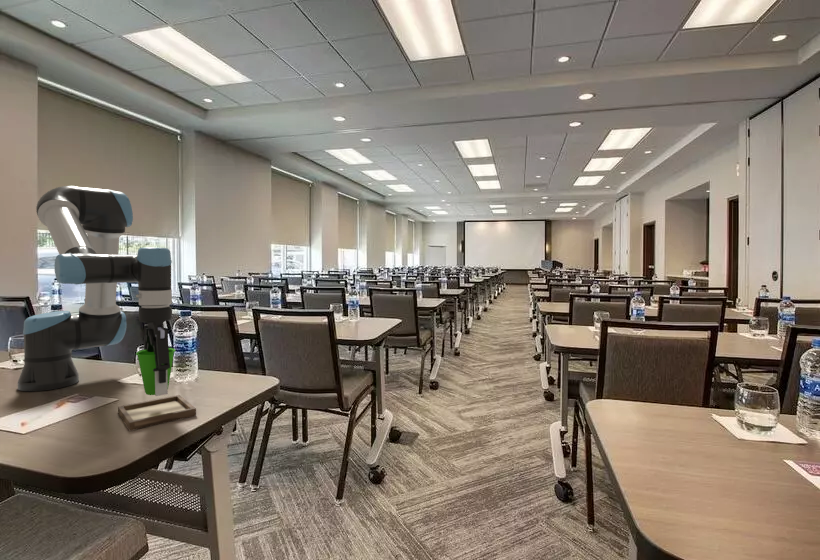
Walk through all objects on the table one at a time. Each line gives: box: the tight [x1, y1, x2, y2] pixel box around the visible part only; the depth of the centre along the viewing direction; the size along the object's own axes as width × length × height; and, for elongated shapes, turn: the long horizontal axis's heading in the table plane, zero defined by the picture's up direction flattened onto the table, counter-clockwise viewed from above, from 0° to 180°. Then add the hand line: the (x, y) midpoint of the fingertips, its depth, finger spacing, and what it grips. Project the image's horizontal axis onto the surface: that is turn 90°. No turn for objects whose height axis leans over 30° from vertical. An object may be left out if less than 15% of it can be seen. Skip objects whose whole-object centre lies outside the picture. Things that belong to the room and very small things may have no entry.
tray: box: [117, 394, 197, 432], centre depth 114 cm, size 15×15×2 cm
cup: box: [135, 347, 176, 396], centre depth 113 cm, size 9×9×11 cm
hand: (156, 390), depth 113 cm, fingers closed on cup, 9 cm apart
